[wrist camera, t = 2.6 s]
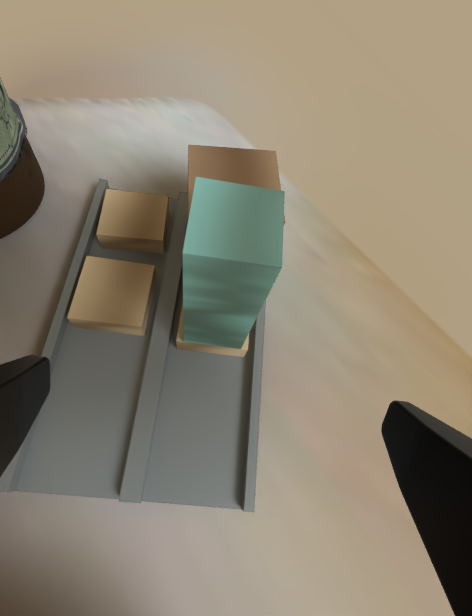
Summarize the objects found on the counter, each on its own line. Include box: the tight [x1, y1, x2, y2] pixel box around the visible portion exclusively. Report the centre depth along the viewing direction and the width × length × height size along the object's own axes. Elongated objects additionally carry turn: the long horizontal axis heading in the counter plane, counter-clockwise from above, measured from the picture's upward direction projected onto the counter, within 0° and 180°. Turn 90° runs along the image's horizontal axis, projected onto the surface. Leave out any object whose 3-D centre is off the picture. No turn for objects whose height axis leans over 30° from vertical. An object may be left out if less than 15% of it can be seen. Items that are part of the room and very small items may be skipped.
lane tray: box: [0, 179, 266, 512], centre depth 21 cm, size 12×19×2 cm, turn 175°
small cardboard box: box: [96, 189, 169, 254], centre depth 23 cm, size 4×4×2 cm
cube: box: [188, 145, 285, 226], centre depth 20 cm, size 5×5×5 cm
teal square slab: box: [176, 177, 284, 357], centre depth 18 cm, size 4×10×10 cm, turn 175°
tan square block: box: [67, 256, 157, 336], centre depth 20 cm, size 4×4×2 cm
